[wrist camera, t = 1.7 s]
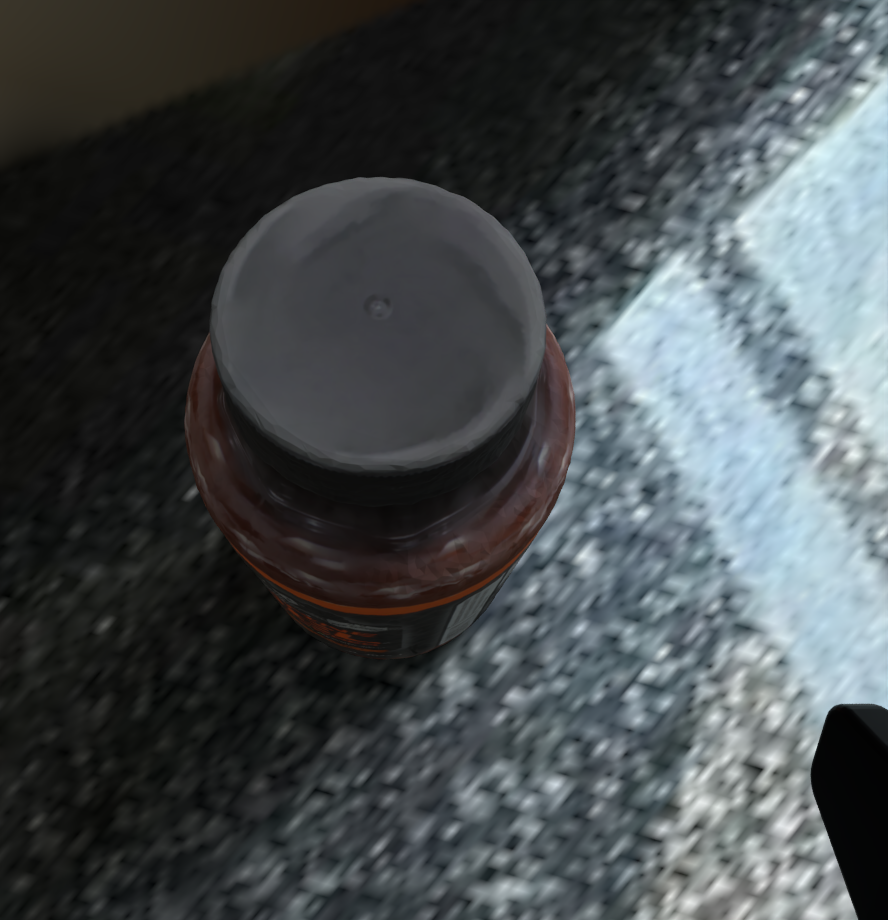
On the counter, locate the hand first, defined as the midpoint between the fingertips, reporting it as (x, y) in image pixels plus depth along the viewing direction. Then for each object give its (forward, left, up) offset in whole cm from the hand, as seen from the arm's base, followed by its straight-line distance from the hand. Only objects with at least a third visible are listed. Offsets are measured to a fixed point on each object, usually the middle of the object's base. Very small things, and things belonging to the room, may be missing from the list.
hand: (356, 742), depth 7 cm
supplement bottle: (+5, 0, -12) cm, 13 cm away
